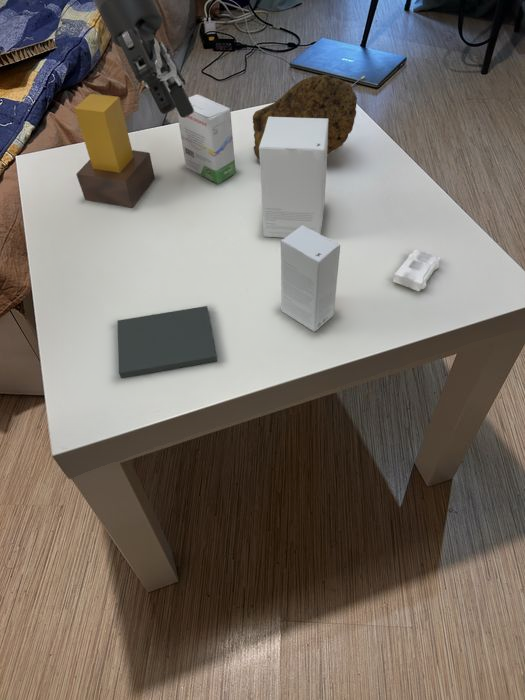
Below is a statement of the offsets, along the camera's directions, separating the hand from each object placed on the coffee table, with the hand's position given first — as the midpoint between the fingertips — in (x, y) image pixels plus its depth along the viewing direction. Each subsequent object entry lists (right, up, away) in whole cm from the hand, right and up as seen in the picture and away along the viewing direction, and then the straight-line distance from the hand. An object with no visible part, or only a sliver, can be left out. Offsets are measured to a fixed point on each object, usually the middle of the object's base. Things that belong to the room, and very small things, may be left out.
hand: (179, 113), depth 76 cm
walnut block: (-12, -7, +14) cm, 20 cm away
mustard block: (-13, -3, +11) cm, 17 cm away
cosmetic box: (+18, -30, -6) cm, 35 cm away
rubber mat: (0, -34, -8) cm, 35 cm away
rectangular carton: (+17, -14, +7) cm, 23 cm away
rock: (+19, +1, +20) cm, 28 cm away
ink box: (+3, -2, +18) cm, 18 cm away
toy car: (+34, -24, -1) cm, 42 cm away
